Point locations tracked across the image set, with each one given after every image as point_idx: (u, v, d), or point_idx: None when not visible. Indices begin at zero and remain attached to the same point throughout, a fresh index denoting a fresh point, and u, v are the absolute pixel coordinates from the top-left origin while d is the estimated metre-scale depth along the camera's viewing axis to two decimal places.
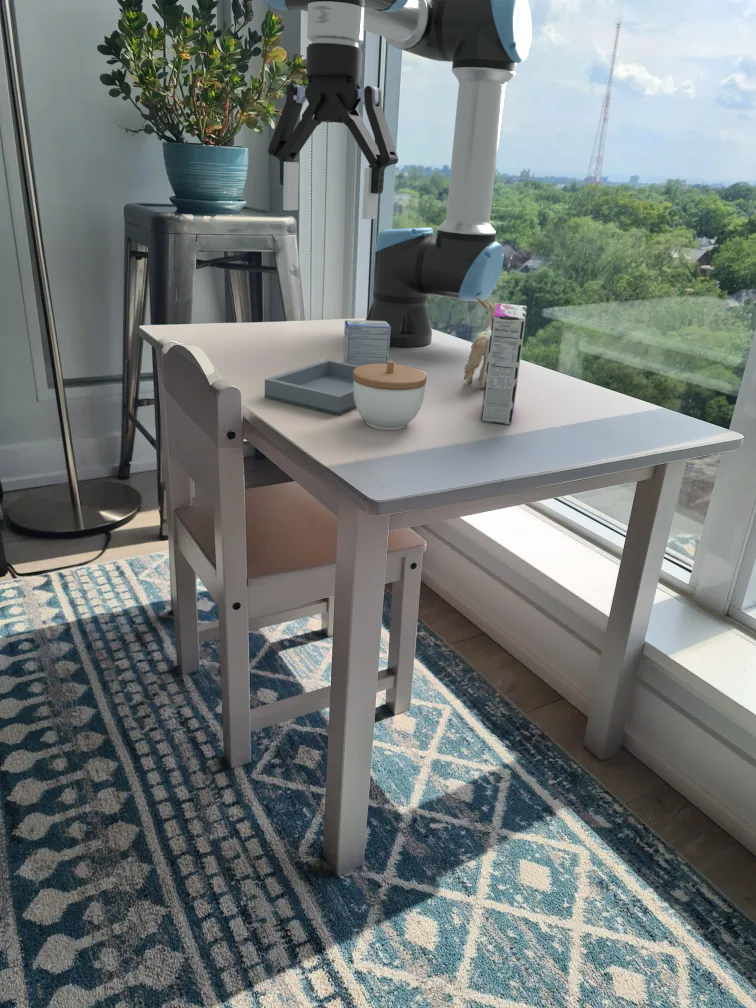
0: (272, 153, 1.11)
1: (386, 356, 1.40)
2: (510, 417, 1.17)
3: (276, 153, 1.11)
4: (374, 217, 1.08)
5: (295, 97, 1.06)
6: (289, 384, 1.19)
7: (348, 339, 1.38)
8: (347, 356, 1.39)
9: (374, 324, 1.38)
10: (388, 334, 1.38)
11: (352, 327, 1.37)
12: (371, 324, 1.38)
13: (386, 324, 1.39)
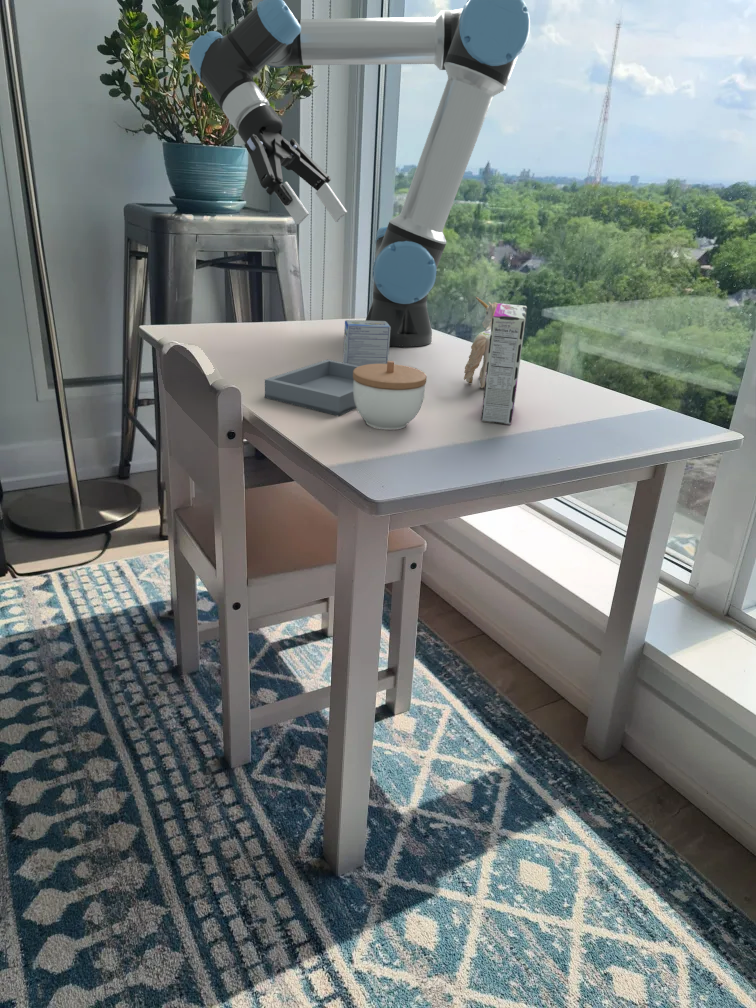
0: None
1: (386, 356, 1.40)
2: (510, 417, 1.17)
3: None
4: (304, 215, 1.30)
5: None
6: (289, 384, 1.19)
7: (348, 339, 1.37)
8: (347, 356, 1.39)
9: (374, 324, 1.38)
10: (388, 334, 1.38)
11: (352, 327, 1.37)
12: (371, 324, 1.38)
13: (386, 324, 1.39)
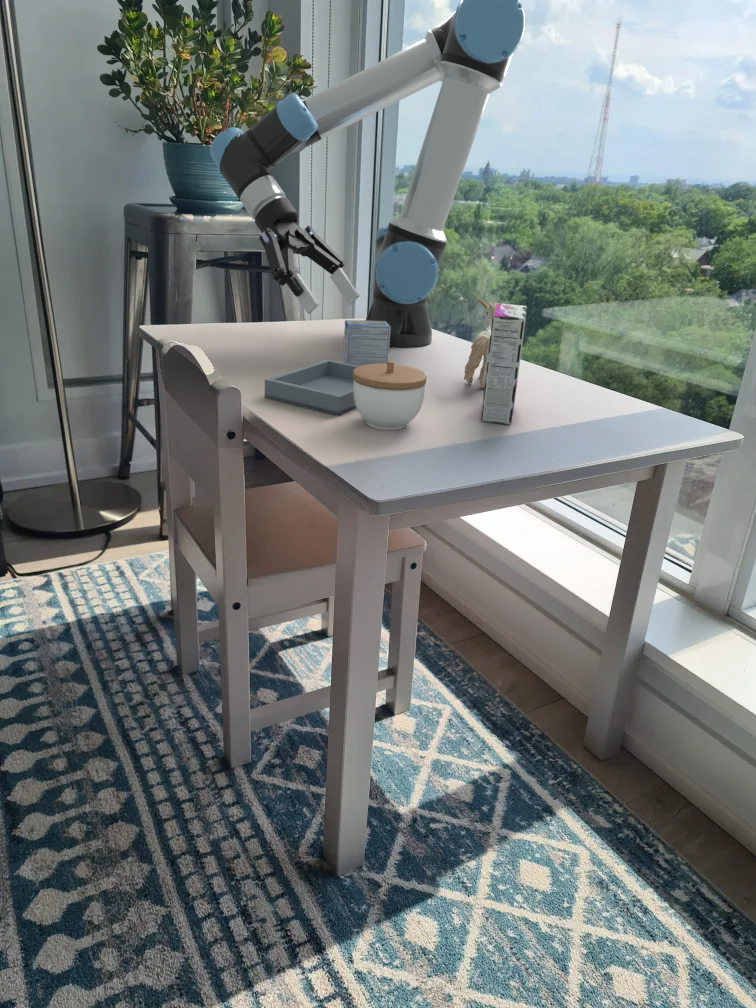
0: None
1: (386, 356, 1.40)
2: (510, 417, 1.17)
3: None
4: (314, 305, 1.34)
5: None
6: (289, 384, 1.19)
7: (348, 339, 1.38)
8: (347, 356, 1.39)
9: (374, 324, 1.38)
10: (388, 334, 1.38)
11: (352, 327, 1.37)
12: (371, 324, 1.38)
13: (386, 324, 1.39)
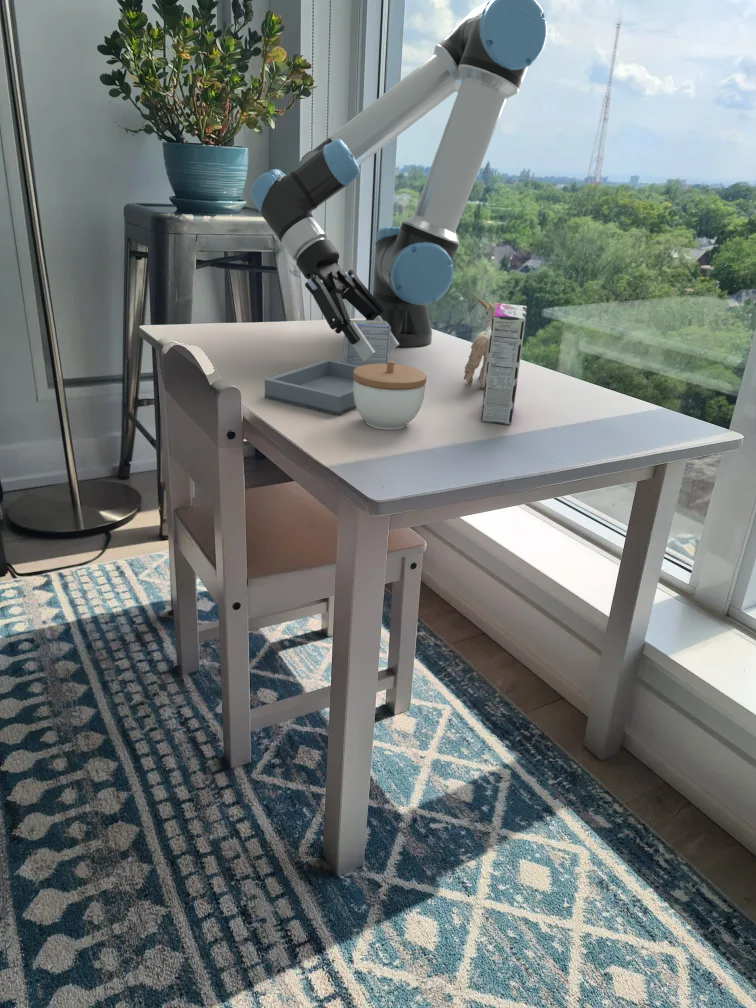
0: None
1: (386, 356, 1.40)
2: (510, 417, 1.17)
3: None
4: (370, 353, 1.35)
5: None
6: (289, 384, 1.19)
7: None
8: (347, 356, 1.39)
9: (374, 324, 1.38)
10: (388, 334, 1.38)
11: None
12: (372, 324, 1.38)
13: (386, 323, 1.39)
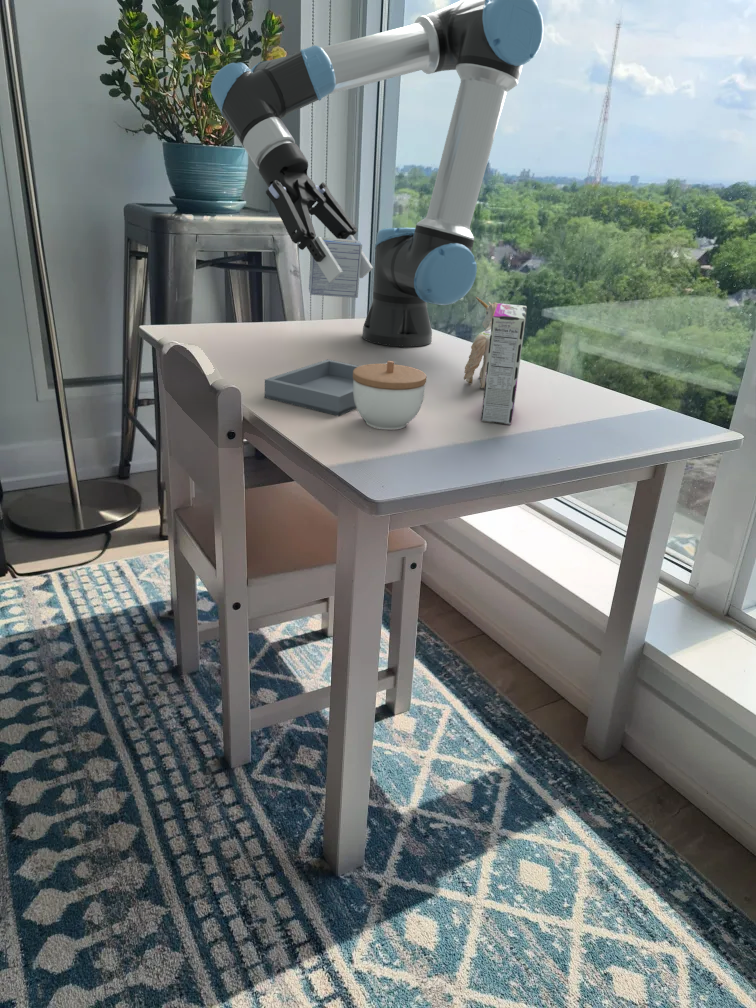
0: None
1: (356, 279, 1.23)
2: (510, 417, 1.17)
3: None
4: (337, 273, 1.19)
5: None
6: (289, 384, 1.19)
7: None
8: (312, 277, 1.22)
9: (344, 241, 1.22)
10: (359, 253, 1.22)
11: None
12: (341, 241, 1.22)
13: (357, 242, 1.22)
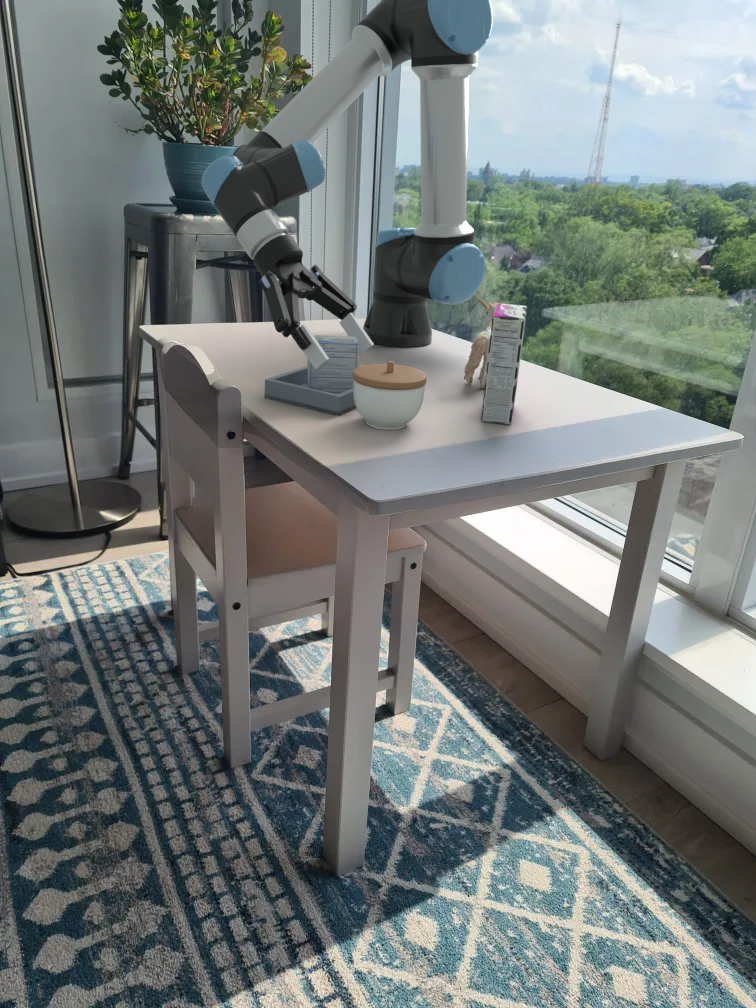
0: None
1: None
2: (510, 417, 1.17)
3: None
4: (323, 360, 1.16)
5: None
6: (289, 384, 1.19)
7: None
8: (310, 376, 1.22)
9: (340, 340, 1.21)
10: (356, 352, 1.21)
11: None
12: (337, 340, 1.21)
13: (354, 340, 1.22)
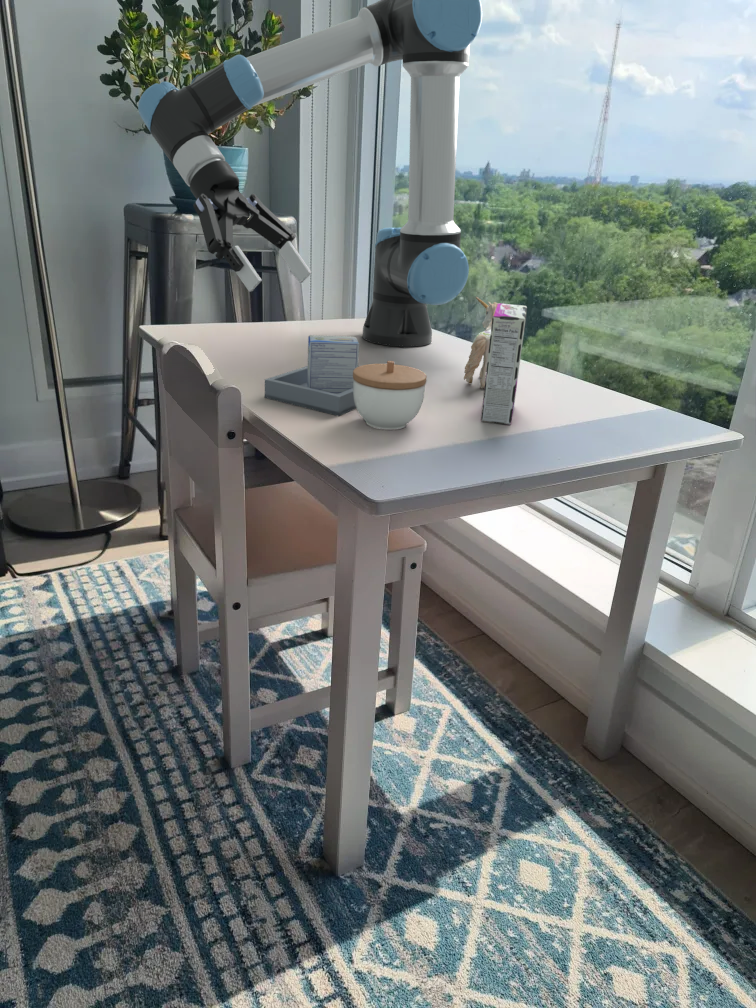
0: None
1: None
2: (510, 417, 1.17)
3: None
4: (256, 282, 1.18)
5: None
6: (289, 384, 1.19)
7: (310, 357, 1.21)
8: (310, 376, 1.22)
9: (340, 340, 1.21)
10: (356, 352, 1.21)
11: (314, 343, 1.20)
12: (337, 340, 1.21)
13: (354, 340, 1.22)
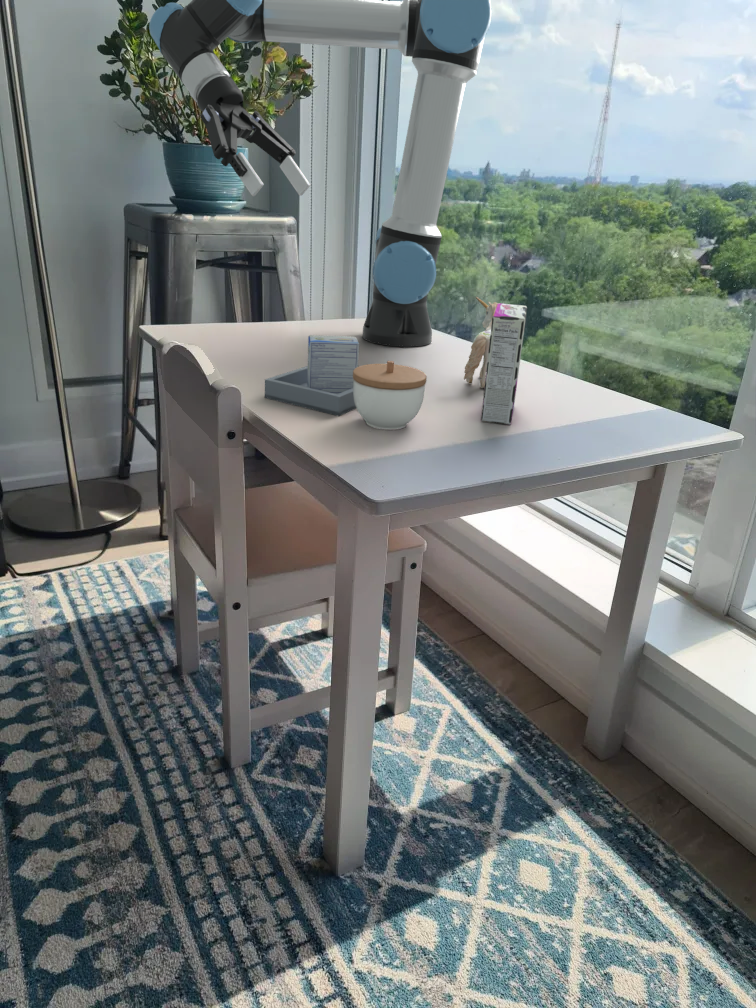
0: None
1: None
2: (510, 417, 1.17)
3: None
4: (258, 186, 1.27)
5: None
6: (289, 384, 1.19)
7: (310, 357, 1.21)
8: (310, 376, 1.22)
9: (340, 340, 1.21)
10: (356, 352, 1.21)
11: (314, 343, 1.20)
12: (337, 340, 1.21)
13: (354, 340, 1.22)
